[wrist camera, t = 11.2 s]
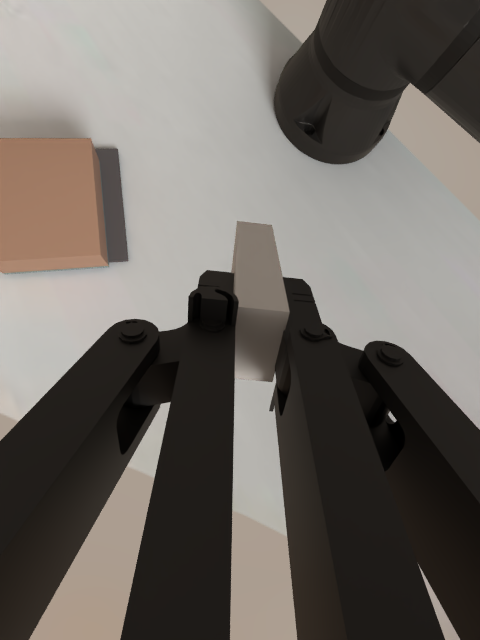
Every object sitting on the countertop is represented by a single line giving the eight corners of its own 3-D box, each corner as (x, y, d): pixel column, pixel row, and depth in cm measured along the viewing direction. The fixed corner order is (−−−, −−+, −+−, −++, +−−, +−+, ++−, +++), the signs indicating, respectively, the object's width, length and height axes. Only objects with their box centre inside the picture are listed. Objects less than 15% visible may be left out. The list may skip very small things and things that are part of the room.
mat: (-22, 151, 35) (-23, 149, 35) (118, 150, 38) (117, 148, 38) (-16, 270, 34) (-18, 270, 34) (128, 261, 37) (127, 260, 36)
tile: (5, 274, 34) (-1, 163, 35) (109, 267, 36) (99, 162, 37) (-18, 262, 30) (-23, 138, 31) (100, 255, 32) (90, 138, 33)
